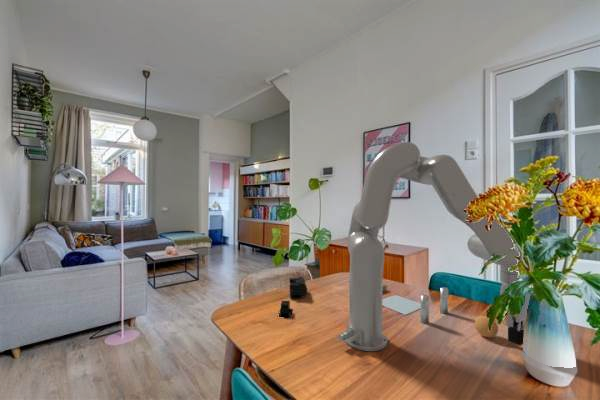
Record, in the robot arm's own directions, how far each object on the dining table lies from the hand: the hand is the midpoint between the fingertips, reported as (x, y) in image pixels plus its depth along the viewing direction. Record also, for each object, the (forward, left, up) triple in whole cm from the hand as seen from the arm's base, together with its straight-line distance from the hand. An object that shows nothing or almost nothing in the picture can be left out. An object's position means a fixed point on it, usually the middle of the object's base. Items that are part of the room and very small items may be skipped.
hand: (515, 342), depth 78 cm
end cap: (-27, +69, -2) cm, 75 cm away
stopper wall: (0, +51, -1) cm, 51 cm away
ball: (0, +7, +2) cm, 8 cm away
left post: (-7, +23, -1) cm, 24 cm away
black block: (-41, +57, -2) cm, 71 cm away
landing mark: (0, +37, -1) cm, 37 cm away
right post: (+7, +23, -1) cm, 24 cm away
